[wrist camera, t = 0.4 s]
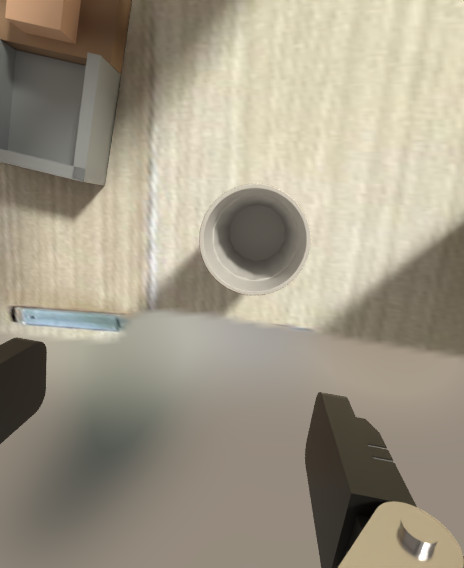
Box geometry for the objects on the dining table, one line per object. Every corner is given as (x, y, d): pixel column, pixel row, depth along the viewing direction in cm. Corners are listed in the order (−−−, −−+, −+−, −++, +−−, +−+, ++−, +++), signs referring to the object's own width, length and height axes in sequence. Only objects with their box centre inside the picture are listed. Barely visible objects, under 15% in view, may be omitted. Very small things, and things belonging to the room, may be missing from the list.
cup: (223, 272, 38) (205, 299, 26) (216, 197, 36) (193, 190, 25) (298, 266, 37) (313, 291, 25) (293, 189, 35) (307, 177, 24)
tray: (7, 49, 35) (-28, 26, 31) (120, 74, 35) (100, 55, 30) (-2, 160, 38) (-36, 153, 33) (104, 185, 37) (83, 182, 33)
